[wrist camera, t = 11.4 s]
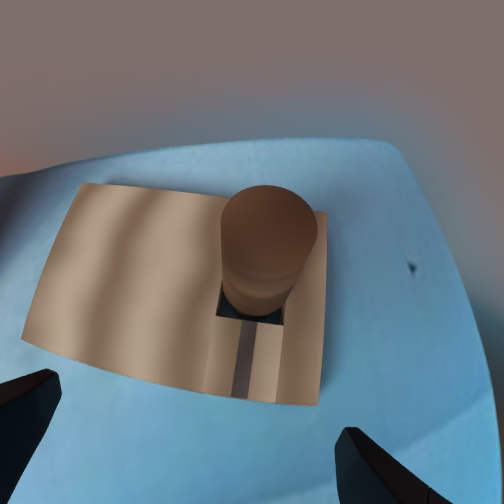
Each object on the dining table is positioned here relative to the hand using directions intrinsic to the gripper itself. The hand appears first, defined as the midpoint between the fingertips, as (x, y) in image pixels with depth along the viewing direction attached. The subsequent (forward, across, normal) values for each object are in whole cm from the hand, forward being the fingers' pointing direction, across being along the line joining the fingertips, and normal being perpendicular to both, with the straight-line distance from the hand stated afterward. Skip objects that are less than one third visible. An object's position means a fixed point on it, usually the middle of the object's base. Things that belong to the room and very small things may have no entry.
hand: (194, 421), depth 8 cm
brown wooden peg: (+16, -2, +2) cm, 16 cm away
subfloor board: (+16, +4, +2) cm, 17 cm away
